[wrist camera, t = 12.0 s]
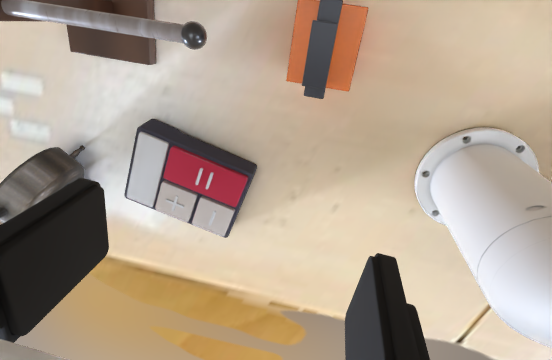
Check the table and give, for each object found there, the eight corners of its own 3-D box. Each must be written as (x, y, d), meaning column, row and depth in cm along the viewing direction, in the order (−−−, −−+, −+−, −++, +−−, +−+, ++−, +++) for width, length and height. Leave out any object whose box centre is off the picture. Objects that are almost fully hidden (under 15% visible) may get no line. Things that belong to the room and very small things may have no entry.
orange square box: (363, 10, 32) (381, 1, 19) (347, 81, 35) (352, 117, 22) (304, 1, 33) (280, -14, 19) (294, 72, 36) (267, 102, 22)
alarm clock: (77, 132, 44) (-47, 185, 30) (109, 159, 45) (4, 222, 31) (49, 180, 49) (-71, 246, 35) (78, 203, 50) (-26, 276, 36)
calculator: (225, 242, 44) (120, 200, 42) (233, 224, 47) (136, 185, 46) (253, 177, 38) (133, 127, 37) (259, 162, 42) (151, 117, 41)
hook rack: (258, -22, 33) (176, -67, 16) (249, 79, 37) (178, 124, 21) (65, -48, 35) (-181, -112, 18) (79, 50, 39) (-107, 70, 23)
